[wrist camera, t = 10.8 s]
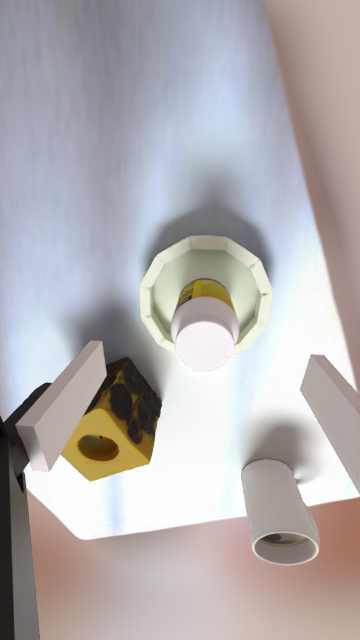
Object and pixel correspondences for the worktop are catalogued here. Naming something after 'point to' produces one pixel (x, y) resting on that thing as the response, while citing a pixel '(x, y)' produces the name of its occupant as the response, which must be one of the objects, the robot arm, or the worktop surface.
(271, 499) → the mug
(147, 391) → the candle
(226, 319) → the pill bottle
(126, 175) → the worktop surface
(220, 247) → the sage dish
